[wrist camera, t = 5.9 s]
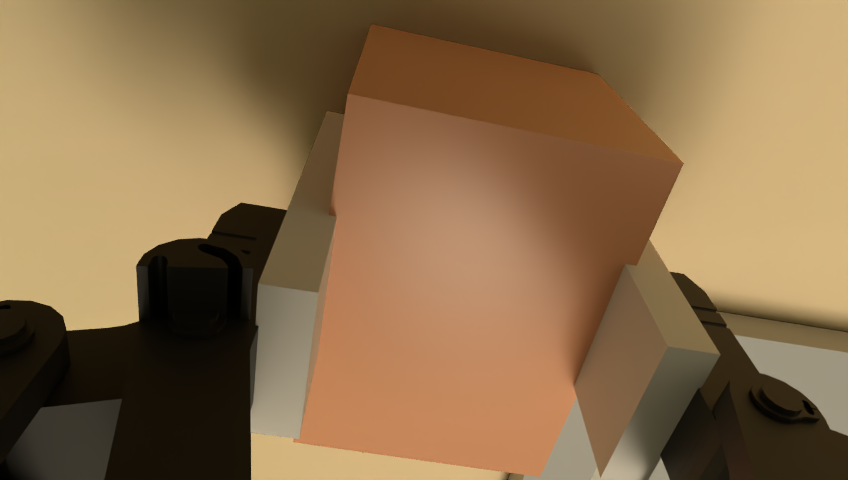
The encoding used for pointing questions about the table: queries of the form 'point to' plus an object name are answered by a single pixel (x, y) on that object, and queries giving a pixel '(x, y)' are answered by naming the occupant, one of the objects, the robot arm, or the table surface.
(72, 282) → the table surface
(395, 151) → the orange block
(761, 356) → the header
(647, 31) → the table surface
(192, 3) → the table surface
